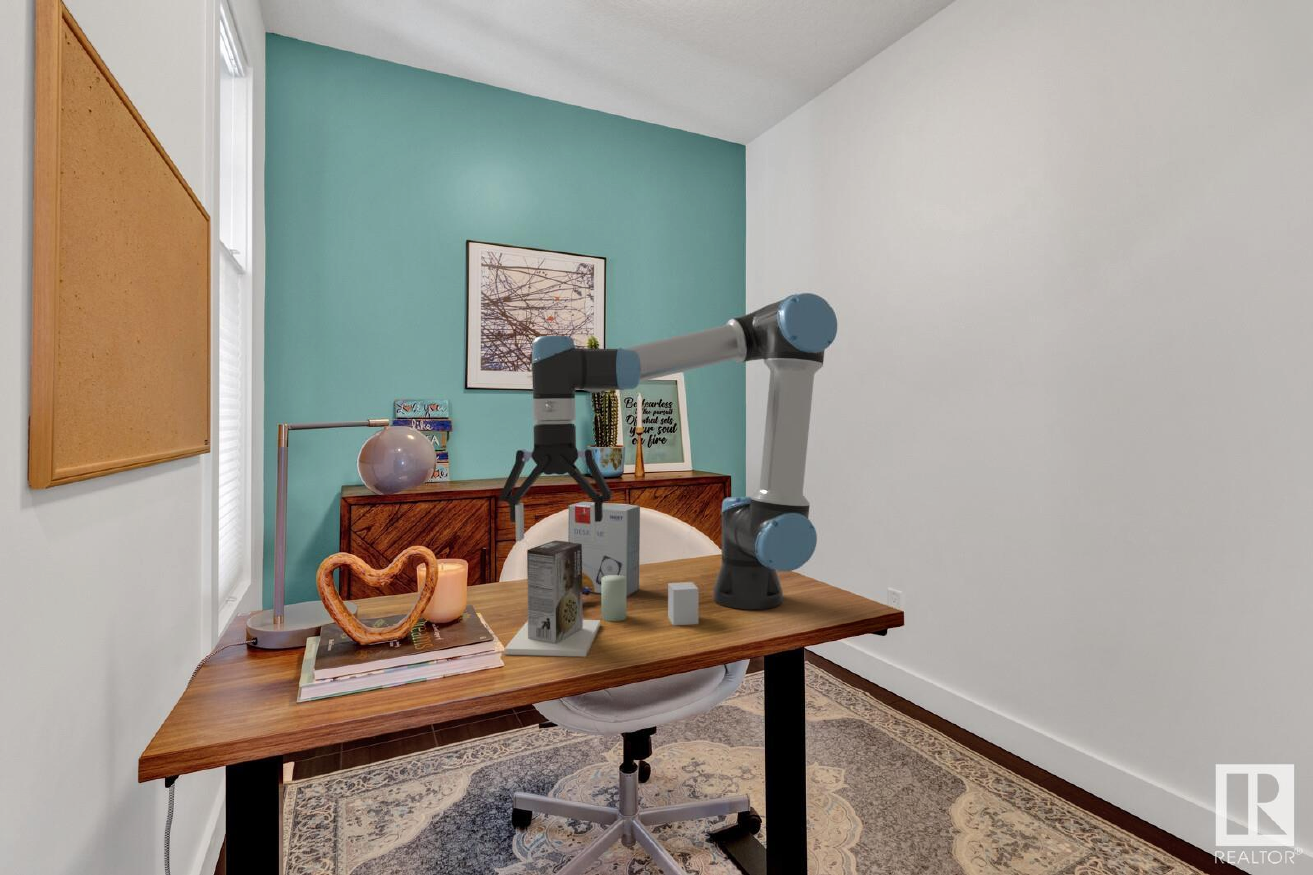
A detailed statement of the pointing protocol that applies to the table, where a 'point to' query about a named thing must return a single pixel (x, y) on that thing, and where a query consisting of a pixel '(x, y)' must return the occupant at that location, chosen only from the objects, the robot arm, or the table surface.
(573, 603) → the grey product box
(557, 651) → the tile
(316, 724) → the table surface
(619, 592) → the sage cylinder
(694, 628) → the table surface
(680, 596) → the grey block
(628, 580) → the hard drive box
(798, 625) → the table surface
